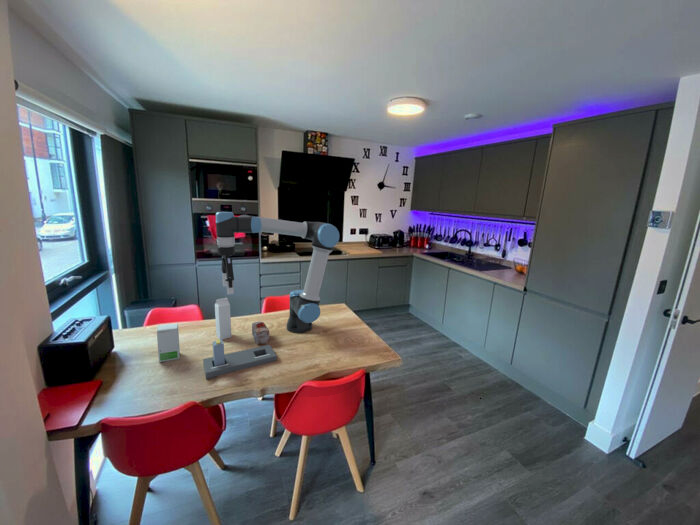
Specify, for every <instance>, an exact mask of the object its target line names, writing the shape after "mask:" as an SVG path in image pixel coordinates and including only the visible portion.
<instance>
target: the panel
mask: <svg viewBox="0 0 700 525" xmlns="http://www.w3.org/2000/svg"><path fill="white" fill-rule="evenodd" d="M224 358H225V364H224V365H220V366H216V367H214V356H211V357H207V358H203V359H202V361H203V362H202V363H203V368H204V369H203V370H204V374H205V380H208V379H213V378H217V376H222V375H225V374H230V373H233V372H237V371H241V370H245V369H249V368H254V367H257V366H262V365H266V364H269V363H274V362H277V359H278V358H277V354H276V353H275V350H273V347H272V346H271V344H264V345H261V346H257V347H252V348H247V349H244V350H243V349H242V350H238V351H235V352H230V353H224Z"/></svg>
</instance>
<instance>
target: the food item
mask: <svg viewBox="0 0 700 525" xmlns="http://www.w3.org/2000/svg"><path fill="white" fill-rule="evenodd" d="M251 336H253V340H254V343H256V344H257V346H259V345H263V344H264V345H266V344H269V343H270V337H271V336H270V329H269V328H268V327H267V325H266V324H265V323H264V321H255V322H252V323H251Z"/></svg>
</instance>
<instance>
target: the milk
mask: <svg viewBox="0 0 700 525" xmlns="http://www.w3.org/2000/svg"><path fill="white" fill-rule="evenodd" d="M214 314H215V330H216V331H215V332H216V337H217V339H220V340H223V341H224V340H225V339H230V338H232V323H231V322H232V320H231V317H232V316H231V304H230V302H229V298H228V297H224V298H218V299H216V300H215V303H214Z"/></svg>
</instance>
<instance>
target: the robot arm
mask: <svg viewBox="0 0 700 525" xmlns="http://www.w3.org/2000/svg"><path fill="white" fill-rule="evenodd" d="M215 230H216V238H215V241H216V245H217V247H216V248H217V251H216V252H217V255H219V256H221V273H222V287H226V294H227V295H234V293H235V290H234V287H235V286H234V281H235V275H234V267H233V258H232V257H231V256H233V255H235V254H236V246H235V245H236V240H235V239H236V237H235V234H251V233H252V234H255V233H256V234H257V233H267V234H269V233H270V234H278V235H286V236H294V237H301V238H302V239H306V240H310V241H312V243H311V248H312V249H313V250H312V254H311V260H310V263H309V267H308V271H307V274H306V275H307V276H306V280H305V282H304V287H303V289H295V290H292V291H290V292H289V296H288V297H289V317H288V319H287V321H286V322H287V323H286V330H287V331H288V332H291V333H294V334H298V333H299V334H301V333H306V332H309V331H311V330H312V328H313V322H315V321H316V320H318V319H319V317H320V315H321V308H320V303H321V298H320V296H319V294H320V292H321V289H322V288H321V287H322V283H323V279H324V274H325V271H326V266H327V263H328V260H329V255H330V254H331V253H332V252H333V250H334V247H335V246H336V245H338V243H339V241H340V232H339V230H338V228H337V227H336V226H334V225H333V224H331V223H327V222H321V221H303V222H300V221H299V222H298V221H290V220H284V219H277V218H270V217H264V216H263V217H262V216H254V215H248V214H241V215H239V216H235V215H234V212H233V211H217V212H216V213H215Z"/></svg>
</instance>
